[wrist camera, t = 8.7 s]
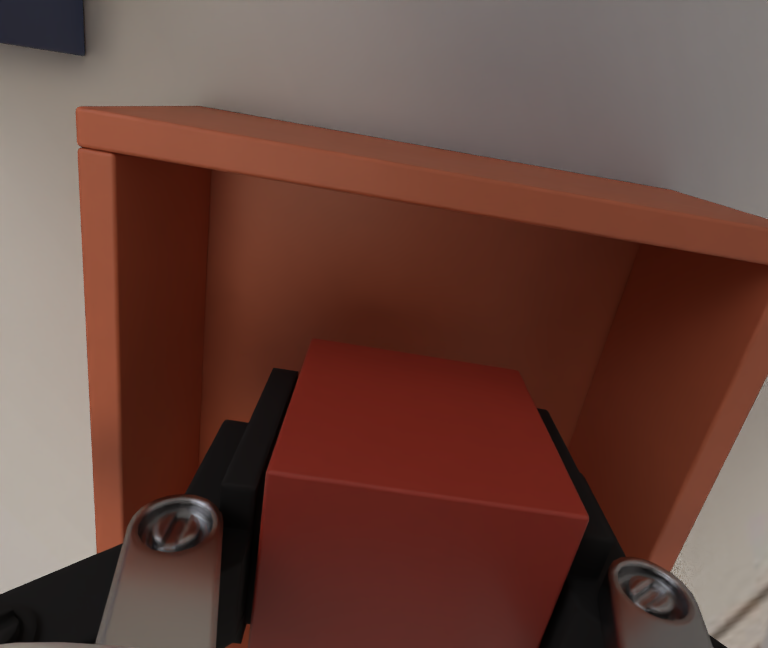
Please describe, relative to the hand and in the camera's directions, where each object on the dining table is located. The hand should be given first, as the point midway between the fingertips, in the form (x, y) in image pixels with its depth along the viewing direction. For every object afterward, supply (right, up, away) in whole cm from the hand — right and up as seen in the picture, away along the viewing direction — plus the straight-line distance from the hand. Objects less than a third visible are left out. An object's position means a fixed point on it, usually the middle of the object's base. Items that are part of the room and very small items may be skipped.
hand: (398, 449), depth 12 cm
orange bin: (0, +2, +4) cm, 4 cm away
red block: (0, 0, 0) cm, 0 cm away
